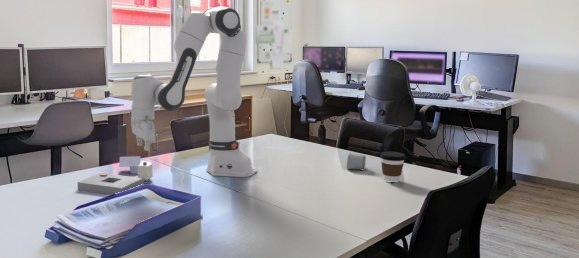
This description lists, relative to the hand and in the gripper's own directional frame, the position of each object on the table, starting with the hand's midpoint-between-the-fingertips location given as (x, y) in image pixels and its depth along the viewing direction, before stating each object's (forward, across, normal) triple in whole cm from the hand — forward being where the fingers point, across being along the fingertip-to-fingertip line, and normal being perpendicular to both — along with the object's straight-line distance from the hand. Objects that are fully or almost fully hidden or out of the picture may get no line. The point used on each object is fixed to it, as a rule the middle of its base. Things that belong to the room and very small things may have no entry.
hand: (143, 148), depth 203 cm
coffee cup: (+12, -50, -92) cm, 106 cm away
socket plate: (+14, -3, +14) cm, 20 cm away
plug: (+14, 0, -1) cm, 14 cm away
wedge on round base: (+14, +16, -2) cm, 22 cm away
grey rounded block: (+12, -27, -92) cm, 96 cm away
